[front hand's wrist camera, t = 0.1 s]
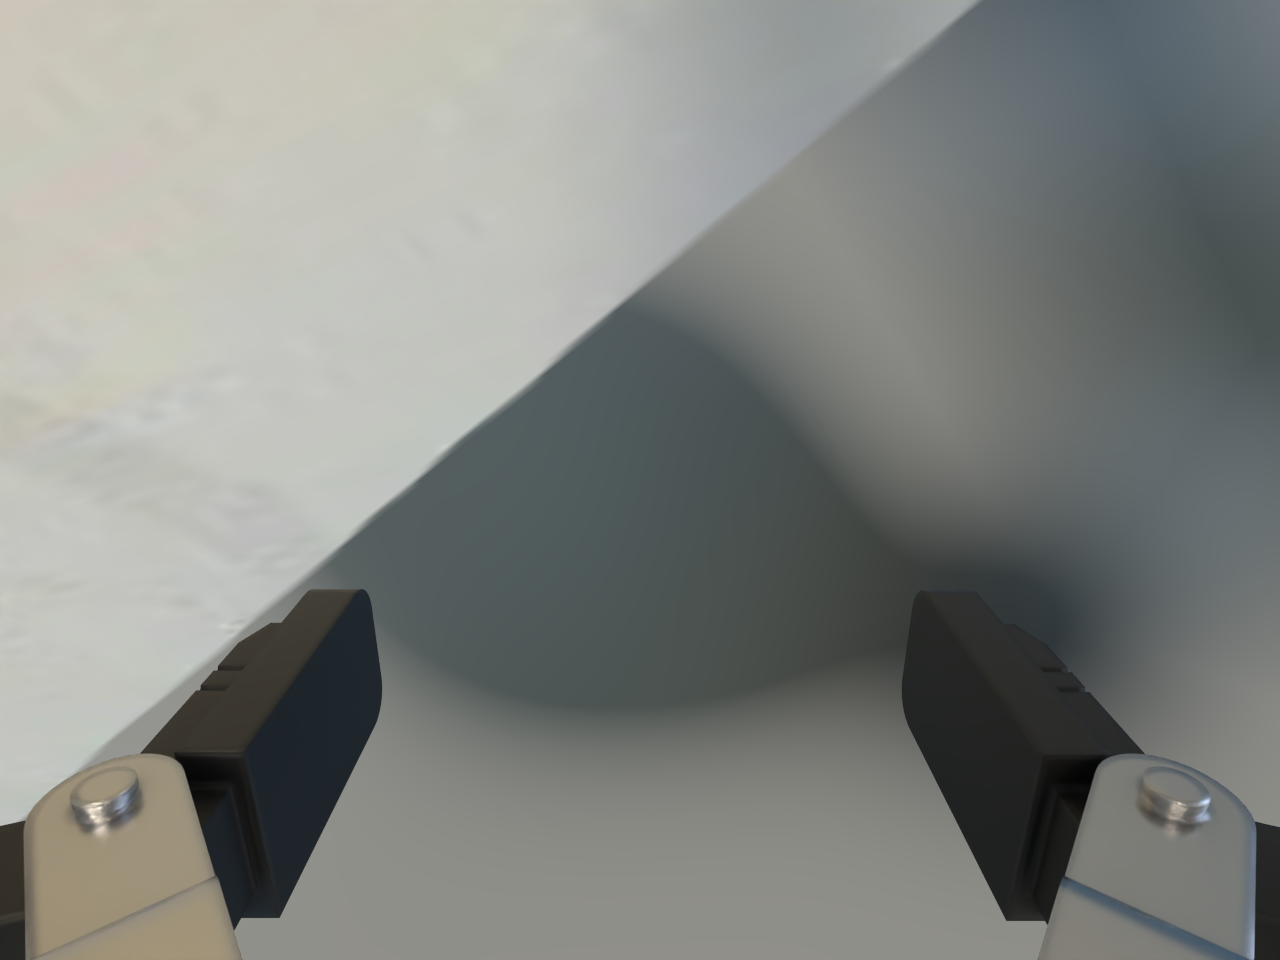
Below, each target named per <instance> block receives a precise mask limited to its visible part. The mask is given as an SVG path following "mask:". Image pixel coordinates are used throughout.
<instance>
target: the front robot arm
mask: <svg viewBox="0 0 1280 960" xmlns="http://www.w3.org/2000/svg"><path fill="white" fill-rule="evenodd" d="M381 699H382V679H381V671H380V664H379V657H378V649H377V642H376V635H375V628H374V621H373V613H372V606H371V601H370V598H369V596H368V594H367V592H366V591H365V590H363V589H312V590H309V591H308V592H307V593H306V594H305V595H304V596H303V598H302V599H301V600H300V601H299V602H298V604H297V605H296V606H295V607H294V608H293V610H292V611H291V612H290V613H289V614H288V616H287V617H286V618H285V619H284V620H283V622H282V623H270V624H268V625H267V626H265V627H263V628H262V629H260V630H259V631H257V632H255V633H254V634H252V635H250V636H249V637H247V638H246V639H244V640H242V641H241V642H239V643H238V644H237V645H236V646H235V647H234V649H233V650H232V651H231V652H230V653H229V654H228V655H227V656H226V658H225V659H224V660H223V661H222V662H221V663H220V664H219V666H218V670H217V671H213V672H212V673H211V674H210V676H209V677H208V678H207V679H206V680H205V681H204V682H203V683H202V685H201V689H200V691H195V692H194V694H193V695H192V696H191V697H190V698H189V699H188V700H187V701H186V703H185V704H184V705H183V706H182V707H181V708H180V709H179V710H178V712H177V713H176V714H175V715H174V716H173V717H172V718H171V719H170V720H169V722H168V723H167V724H166V725H165V726H164V727H163V728H162V730H161V731H160V732H159V733H158V734H157V735H156V736H155V737H154V738H153V740H152V741H151V742H150V743H149V744H148V745H147V746H146V747H145V749H144V750H143V751H142V752H141V753H140V754H135V755H128V756H123V757H119V758H114V759H111V760H108V761H105V762H102V763H99V764H97V765H94V766H92V767H89V768H87V769H85V770H83V771H81V772H79V773H77V774H75V775H73V776H71V777H70V778H68V779H66V780H64V781H63V782H62V783H60V784H59V785H57V786H56V787H54V788H53V789H52V790H51V791H49V792H48V793H47V794H46V795H45V796H44V797H42V799H41V800H40V801H39V802H38V803H37V804H36V805H35V806H34V807H33V809H32V810H31V812H30V813H29V815H28V817H27V819H26V821H21V822H17V823H12V824H8V825H3V826H0V960H242V956H241V953H240V950H239V946H238V943H237V940H236V936H235V933H234V930H235V928H236V926H237V924H238V923H239V921H240V919H241V918H280V916H281V914H282V912H283V910H284V908H285V906H286V904H287V902H288V900H289V898H290V896H291V893H292V892H293V890H294V887H295V886H296V884H297V881H298V880H299V877H300V875H301V873H302V871H303V869H304V867H305V865H306V863H307V861H308V859H309V857H310V855H311V853H312V851H313V849H314V847H315V845H316V843H317V841H318V839H319V837H320V835H321V833H322V831H323V829H324V827H325V825H326V823H327V821H328V819H329V817H330V815H331V813H332V811H333V809H334V807H335V805H336V803H337V801H338V799H339V797H340V795H341V793H342V791H343V789H344V787H345V785H346V783H347V781H348V779H349V777H350V775H351V773H352V771H353V769H354V767H355V765H356V763H357V761H358V759H359V757H360V755H361V753H362V751H363V749H364V747H365V745H366V743H367V741H368V739H369V736H370V734H371V732H372V730H373V728H374V726H375V724H376V722H377V719H378V715H379V711H380V706H381ZM902 701H903V708H904V713H905V717H906V720H907V723H908V726H909V728H910V730H911V732H912V734H913V736H914V738H915V740H916V742H917V744H918V746H919V748H920V750H921V752H922V754H923V756H924V758H925V760H926V762H927V764H928V766H929V768H930V770H931V772H932V774H933V776H934V778H935V780H936V782H937V784H938V786H939V788H940V790H941V792H942V793H943V796H944V798H945V799H946V802H947V804H948V805H949V808H950V809H951V811H952V813H953V815H954V817H955V819H956V821H957V823H958V825H959V827H960V829H961V831H962V833H963V835H964V837H965V839H966V841H967V843H968V845H969V847H970V849H971V851H972V853H973V855H974V857H975V859H976V861H977V863H978V865H979V867H980V869H981V871H982V873H983V875H984V877H985V879H986V881H987V883H988V885H989V887H990V889H991V891H992V893H993V895H994V897H995V899H996V901H997V903H998V905H999V907H1000V909H1001V911H1002V913H1003V915H1004V917H1005V919H1006V921H1046V923H1047V925H1048V926H1047V930H1046V933H1045V936H1044V940H1043V943H1042V946H1041V950H1040V953H1039V956H1038V960H1280V827H1276V826H1271V825H1267V824H1263V823H1259V822H1255V821H1254V819H1253V817H1252V815H1251V813H1250V812H1249V810H1248V809H1247V807H1246V806H1245V805H1244V804H1243V803H1242V802H1241V801H1240V800H1239V799H1238V797H1236V796H1235V795H1234V794H1233V793H1232V792H1231V791H1229V790H1228V789H1227V788H1226V787H1224V786H1223V785H1221V784H1220V783H1218V782H1217V781H1215V780H1214V779H1212V778H1210V777H1209V776H1207V775H1205V774H1203V773H1201V772H1199V771H1197V770H1195V769H1193V768H1191V767H1189V766H1186V765H1183V764H1181V763H1178V762H1175V761H1172V760H1169V759H1166V758H1161V757H1157V756H1152V755H1145V754H1144V752H1143V751H1142V750H1141V749H1140V748H1139V747H1138V746H1137V745H1136V744H1135V743H1134V741H1133V740H1132V739H1131V738H1130V737H1129V736H1128V735H1127V734H1126V733H1125V731H1124V730H1123V729H1122V728H1121V727H1120V726H1119V725H1118V724H1117V722H1116V721H1115V720H1114V719H1113V718H1112V717H1111V716H1110V715H1109V714H1108V712H1107V711H1106V710H1105V709H1104V708H1103V707H1102V706H1101V705H1100V703H1099V702H1098V701H1097V700H1096V699H1095V698H1094V697H1093V696H1092V695H1091V693H1089V692H1085V687H1084V686H1083V685H1082V683H1081V682H1080V681H1079V680H1078V679H1077V678H1076V677H1075V676H1074V675H1073V673H1072V672H1068V671H1067V667H1066V666H1065V665H1064V663H1063V662H1062V661H1061V660H1060V659H1059V658H1058V657H1057V656H1056V655H1055V653H1054V652H1053V651H1052V650H1051V649H1050V648H1049V647H1048V646H1047V644H1045V643H1043V642H1042V641H1040V640H1039V639H1037V638H1035V637H1034V636H1032V635H1030V634H1029V633H1027V632H1026V631H1024V630H1022V629H1021V628H1019V627H1017V626H1016V625H1014V624H1003V623H1002V622H1001V621H1000V620H999V618H998V617H997V616H996V615H995V614H994V612H993V611H992V610H991V609H990V608H989V606H988V605H987V604H986V603H985V602H984V600H983V599H982V598H981V597H980V596H979V595H978V594H977V593H976V592H975V591H971V590H922V591H920V592H918V594H917V595H916V597H915V600H914V603H913V608H912V615H911V622H910V630H909V637H908V644H907V651H906V658H905V665H904V672H903V680H902Z"/></svg>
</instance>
